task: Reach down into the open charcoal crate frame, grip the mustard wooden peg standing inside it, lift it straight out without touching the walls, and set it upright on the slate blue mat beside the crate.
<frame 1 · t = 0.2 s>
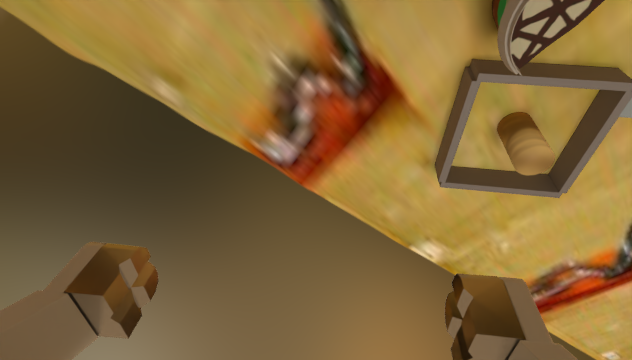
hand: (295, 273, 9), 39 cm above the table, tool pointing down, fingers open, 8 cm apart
crate: (514, 126, 48), on the table
peg: (523, 142, 45), in the crate
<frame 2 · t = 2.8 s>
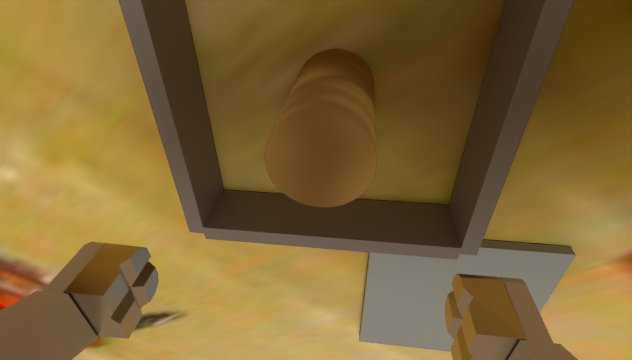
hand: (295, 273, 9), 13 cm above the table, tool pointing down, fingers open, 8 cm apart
mat: (447, 297, 30), on the table
crate: (335, 88, 20), on the table
peg: (328, 119, 17), in the crate
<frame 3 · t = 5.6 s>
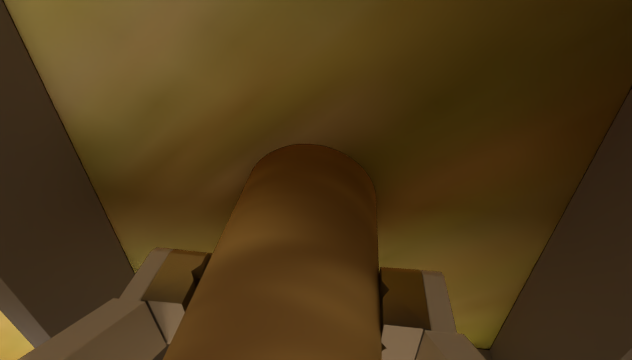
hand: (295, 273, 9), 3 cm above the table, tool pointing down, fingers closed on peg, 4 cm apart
crate: (310, 200, 12), on the table
peg: (289, 302, 9), in the crate, touching gripper
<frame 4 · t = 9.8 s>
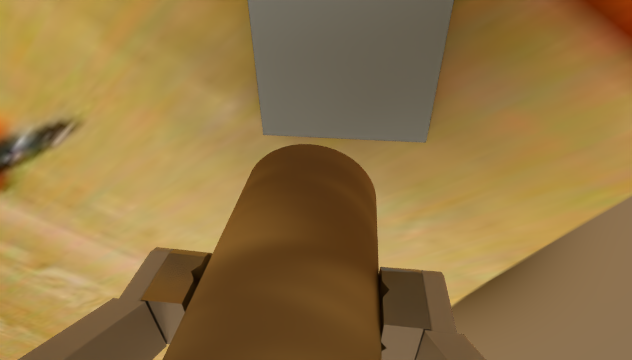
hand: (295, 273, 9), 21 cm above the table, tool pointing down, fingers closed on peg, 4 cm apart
mat: (346, 52, 26), on the table
peg: (289, 302, 9), point 22 cm above the table, touching gripper
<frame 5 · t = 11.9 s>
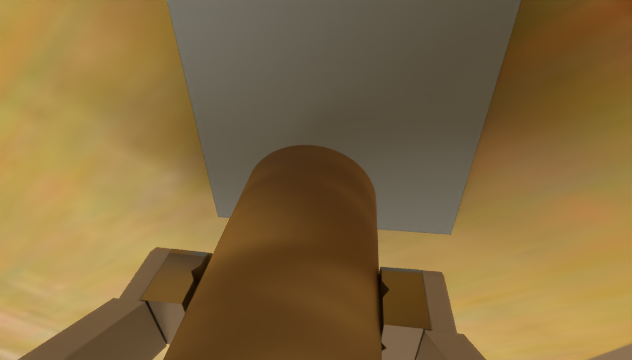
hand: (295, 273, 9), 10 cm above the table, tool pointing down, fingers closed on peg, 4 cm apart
mat: (333, 112, 17), on the table
peg: (289, 303, 9), point 11 cm above the table, touching gripper
when the fingers open (5 cm above the table, at t = 13.7 s): peg drops 1 cm, resting on mat.
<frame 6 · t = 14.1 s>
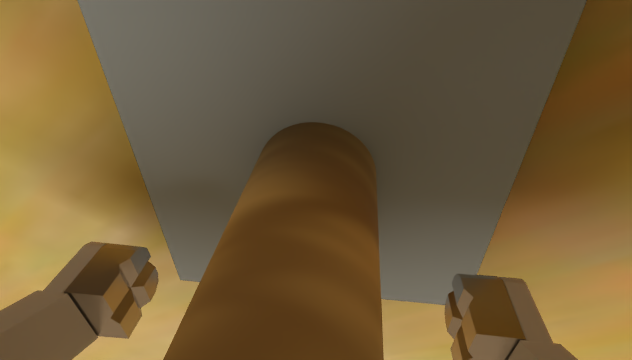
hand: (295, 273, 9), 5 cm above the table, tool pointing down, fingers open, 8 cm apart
mat: (317, 164, 14), on the table
peg: (299, 257, 10), on the mat, point 5 cm above the table
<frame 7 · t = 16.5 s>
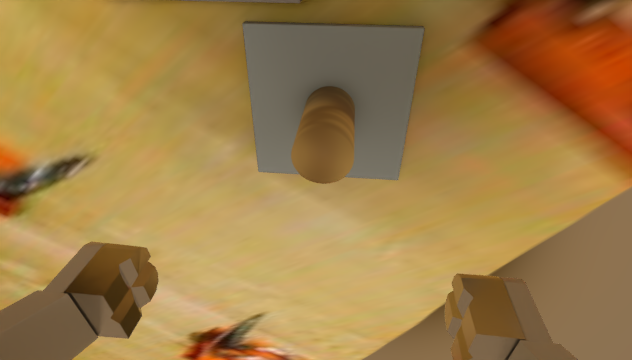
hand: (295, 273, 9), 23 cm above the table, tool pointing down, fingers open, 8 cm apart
mat: (329, 107, 31), on the table
peg: (326, 131, 27), on the mat, point 5 cm above the table
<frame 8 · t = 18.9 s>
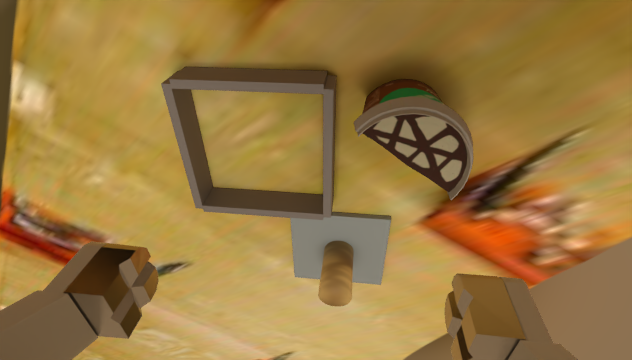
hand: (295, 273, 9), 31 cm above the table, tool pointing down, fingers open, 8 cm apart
mat: (338, 247, 53), on the table
crate: (262, 140, 43), on the table
peg: (337, 272, 49), on the mat, point 5 cm above the table
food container: (417, 99, 38), on the table
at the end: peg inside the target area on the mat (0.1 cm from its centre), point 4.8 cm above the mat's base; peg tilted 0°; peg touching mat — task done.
